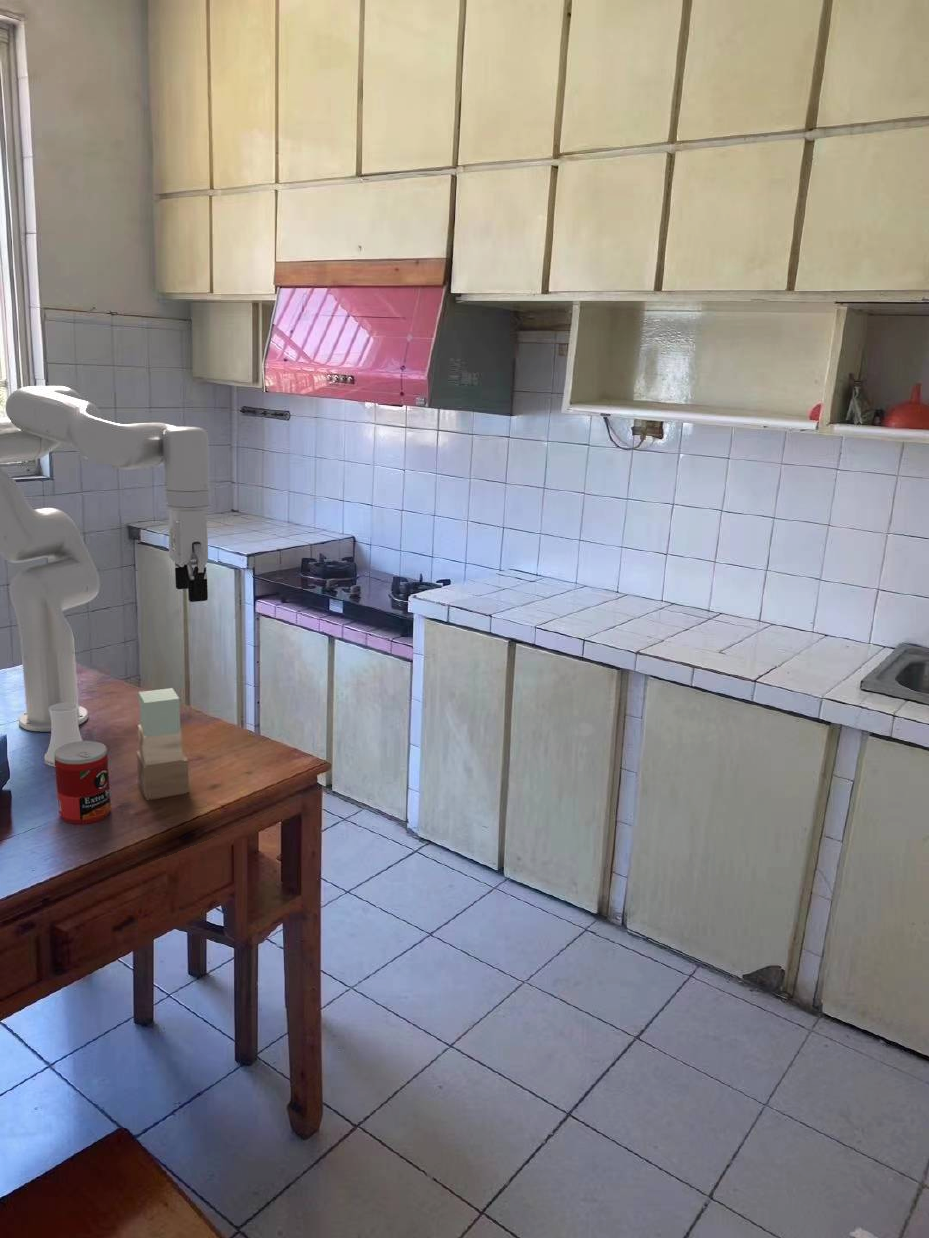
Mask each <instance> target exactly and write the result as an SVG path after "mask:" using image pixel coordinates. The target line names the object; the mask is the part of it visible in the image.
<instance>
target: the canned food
mask: <svg viewBox="0 0 929 1238" xmlns="http://www.w3.org/2000/svg"><path fill="white" fill-rule="evenodd" d="M54 759H55V767H54V769H55V771H54V772H55V781H56V791H57V792H56V793H57V803H58V804H57V806H58V814H59V816H60V818H61V819H62V820H63V821H64V822H66V823H69V824H72V825H73V824H75V825H83V824H86V825H87V824H92V823H95V822H99V821H101V820H103V819H104V818H105V817H107V816H108V815H109V813H110V811H111V806H112V805H111V789H110V787H111V786H110V773H109V771H110V770H109V758H108V749H107V746H106V745H105V744H104V743H102V742H100V741H99V742H98V741H91V740H83V741H78V742H72V743H68V744H65V745H63V746H61V747H59V748H58V749H56V751H55V755H54Z"/></svg>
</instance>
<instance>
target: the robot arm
mask: <svg viewBox="0 0 929 1238" xmlns="http://www.w3.org/2000/svg"><path fill="white" fill-rule="evenodd" d="M4 406H5V407H4V408H5V414H6V416H7V417H0V465H1V464H8V463H9V464H10V463H20V462H22V463H23V462H30V461H35V460H38V459H42V458H44V457H46V456H47V455H48V454H50V453H51V452H52V451H53V450H54V449H56V448H57V447H59V446H60V445H61V444H63V445H65V446H70V447H73V449H74V450H75V452H77V453H78V454H79V455H80V456H81V457H82V458H84V459H86V460H88V461H91V462H93V463H98V464H101V465H104V466H107V467H111V468H115V469H120V470H127V471H128V470H137V469H142V468H152V467H161V466H162V467H163V474H164V475H163V476H164V479H163V480H164V498H165V500H164V501H165V508H166V509H167V510H169V514H168V555H169V558H170V559H171V560H172V561H173V563H174V566H175V567H174V574H175V575H174V576H175V579H174V580H175V588H176V589H177V590H186V589H187V591H188V597H187V598H188V601H189V602H190V603H195V602H196V603H197V602H206V601H207V602H208V600H209V599H208V597H209V594H208V593H209V592H208V591H209V589H208V572H207V567H206V566H207V564H208V563H209V544H208V543H209V542H208V541H209V539H208V527H207V525H208V524H207V522H208V521H207V517H206V516H207V514H206V510H209V509H211V477H210V447H209V446H210V445H209V434H208V432H207V431H206V430H205V429H204V428H201V427H198V426H197V427H196V426H176V425H173V424H169V423H165V422H142V423H140V422H137V423H128V424H127V423H126V424H123V423H122V424H121V423H116V422H112V421H109V420H105V419H103V418H102V415H101V412H100V410H99V408H98V407H97V406H96V405H95V404H94V403H92V402H90V401H87V400H84V398H83V397H82V395H80V394H79V393H78V392H77V391H76V390H74V389H73V388H70V387H67V386H64V385H29V386H23V387H19V388H17V389H16V390H14V391H13V392H11V393H10V394H9V396H8V397H7V400H6V402H5V405H4ZM90 554H91V553H90V552H89V550H88V548H87V546H86V543H85V542H84V539H83V538H82V535H81V533H80V531H79V529H78V527H77V525H76V524H75V522H74V520H72V518H71V517H70V516H69V515H68V514H67V513H65V512H64V511H62V510H60V509H58V508H54V507H42V508H36V509H34V508H32V506H31V505H30V503H29V501H28V500H27V498H26V496H25V494H24V492H23V490H22V488H21V486H20V485H19V483H18V482H17V481H16V480H15V479H14V478H13V477H12V476H11V475H10V474H9V473H8V472H6V471H5V470H3V469H2V468H1V467H0V556H1V557H2V558H3V559H4V560H5V561H8V562H9V563H14V564H17V563H26V562H27V563H28V562H31V561H35V560H40V559H41V560H42V559H44V558H46V559H47V561H48V562H46V563H42V564H41V563H40V564H38V565H34V566H30V567H27V568H24V569H23V570H21V571H20V572H18V573H17V574H16V575H14V577H13V578H12V580H11V582H10V586H9V595H10V600H11V603H12V606H13V609H14V613H15V617H16V621H17V625H18V633H19V640H20V650H21V662H22V672H23V683H24V684H23V685H24V686H23V687H24V693H25V694H24V695H25V697H24V698H25V706H26V711H25V712H23V713H22V714H20V716H19V717H18V725H19V726H20V728H22V729H24V730H27V731H32V732H38V731H39V732H40V733H41V732H42V733H45V732H48V733H49V732H51V730H52V727H51V717H50V712H49V707H50V706H52V705H55V704H58V703H75V704H77V705H78V715H77V716H78V726H80V725H81V724H83V723H84V722H85V721H87V719H88V718H89V713H88V710H87V709H86V708H85V707H83V706H82V705H79V691H78V679H77V678H78V677H77V664H76V652H75V640H74V638H75V637H74V633H73V632H74V631H73V629H72V627H71V625H70V623H69V622H68V620H67V618H66V617H65V615H64V613H63V612H64V611H67V610H68V609H72V608H75V607H77V606H81V605H84V604H86V603H89V602H91V601H92V600H94V599H95V598H96V597H97V595H98V594H99V591H100V587H101V584H100V583H101V581H100V576H99V573H98V570H97V567H96V565H95V563H94V561H93V559H92V557H91V555H90Z"/></svg>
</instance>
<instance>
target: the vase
mask: <svg viewBox="0 0 929 1238" xmlns="http://www.w3.org/2000/svg"><path fill="white" fill-rule="evenodd" d="M49 712H50V717H51V727H52V730H51V731H50V732H51V733H50V740H49V741H50V742H49V745H48V749H47V752H46V753H45V754H44V756H43V757H44V763H45V764H46V765H48V766H50V767H54V768H55V759H54V755H55V751H56V749H58V748H59V747H61V746H63V745H65V744H68V743H72V742H78V741H84V740H83V737H82V735H81V733H80V726H79V725H78V716H77V715H78V705H77V704H75V703H58V704H55V705H52V706H50V707H49Z"/></svg>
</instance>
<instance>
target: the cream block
mask: <svg viewBox="0 0 929 1238" xmlns="http://www.w3.org/2000/svg"><path fill="white" fill-rule="evenodd" d="M182 758H183V760H180V761H173V762H167V763H160V764H154V765H147V766H145V764H144V761H143V759H142V757H141V755H140V752H139V750H138V751H136V765H137V766H136V767H137V780H138V781H137V783H138V786H139V788H140V790H141V792H142V794H143V796H144V798H146V799H145V800H146V801H150V799H151V800H156V799H162V798H165V797H167V798H168V797H171V796H178V795H185V794H188V793H187V792H189V793H190V787H189V786H190V785H189V783H190V782H189V764H188V763H189V760H188V758H187V757H186V756H185V754H184V752H183V751H182Z"/></svg>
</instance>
